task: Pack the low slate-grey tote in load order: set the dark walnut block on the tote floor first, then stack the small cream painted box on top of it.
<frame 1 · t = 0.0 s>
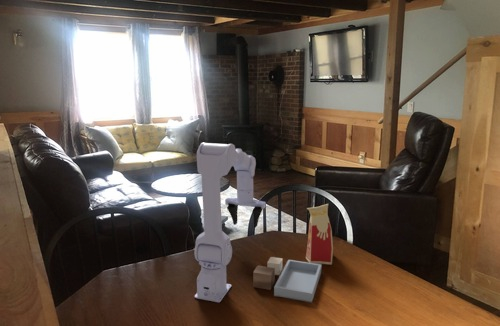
hand: (245, 225, 139), 10 cm above the table, fingers open, 7 cm apart
tote: (299, 283, 119), on the table
walnut block: (264, 285, 118), on the table
cream box: (274, 271, 126), on the table
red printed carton: (318, 258, 136), on the table
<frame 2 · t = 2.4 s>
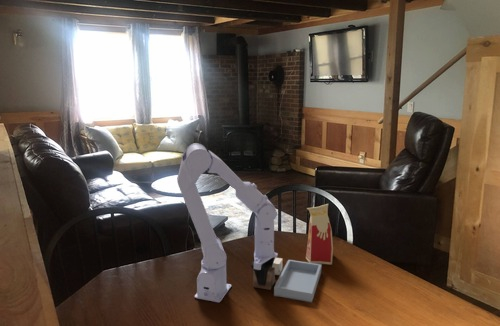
hand: (264, 280, 118), 1 cm above the table, fingers closed on walnut block, 4 cm apart
walnut block: (264, 284, 118), on the table, touching gripper
everything else where it was.
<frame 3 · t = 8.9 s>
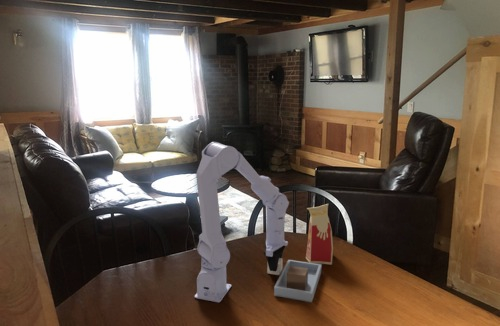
hand: (274, 267, 126), 1 cm above the table, fingers closed on cream box, 4 cm apart
walnut block: (297, 285, 117), resting on tote
cream box: (274, 271, 126), on the table, touching gripper
everything else where it was.
when the fingers open (8 cm above the table, at t = 11.4 s): cream box stays where it is, resting on walnut block.
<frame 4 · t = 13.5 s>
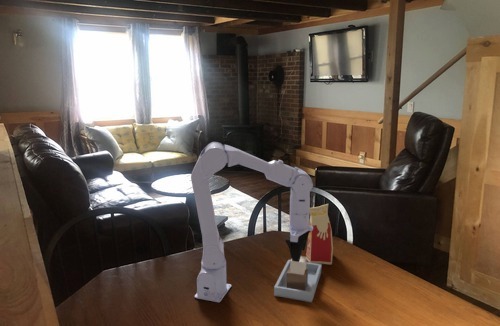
hand: (298, 255, 115), 10 cm above the table, fingers open, 7 cm apart
walnut block: (297, 285, 117), resting on tote, touching cream box
cream box: (298, 270, 116), point 5 cm above the table, touching walnut block
everything else where it was.
at the end: walnut block inside the target area on the tote (2.0 cm from its centre), point 0.3 cm above the tote's base; cream box 0.2 cm off-centre on the walnut block, point 5.0 cm above the walnut block's base; the gripper is holding nothing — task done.
